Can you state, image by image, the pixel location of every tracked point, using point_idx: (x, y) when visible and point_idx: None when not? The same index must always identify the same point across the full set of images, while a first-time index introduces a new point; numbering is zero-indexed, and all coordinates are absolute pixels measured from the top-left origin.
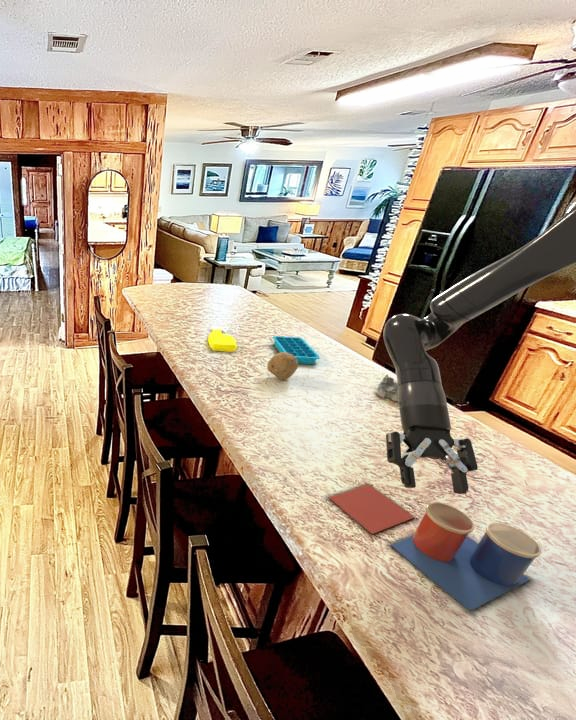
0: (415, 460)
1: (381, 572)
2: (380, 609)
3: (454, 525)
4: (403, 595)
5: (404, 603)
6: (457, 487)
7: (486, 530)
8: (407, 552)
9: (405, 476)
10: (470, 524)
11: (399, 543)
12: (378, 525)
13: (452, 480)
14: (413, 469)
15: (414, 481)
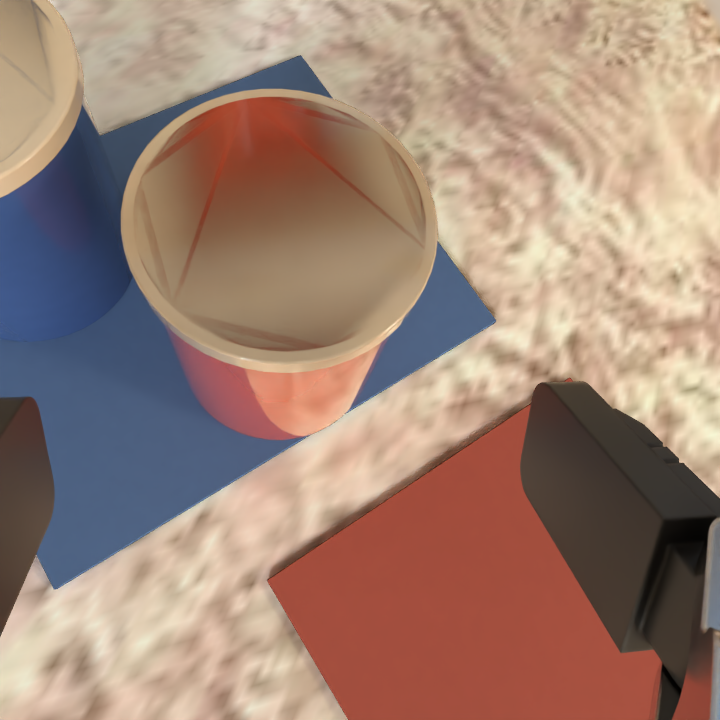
0: (700, 615)
1: (578, 174)
2: (620, 37)
3: (302, 133)
4: (524, 91)
5: (531, 64)
6: (24, 489)
7: (59, 142)
8: (430, 288)
9: (672, 453)
10: (164, 158)
11: (450, 337)
12: (520, 449)
13: (5, 611)
14: (647, 500)
15: (574, 406)
